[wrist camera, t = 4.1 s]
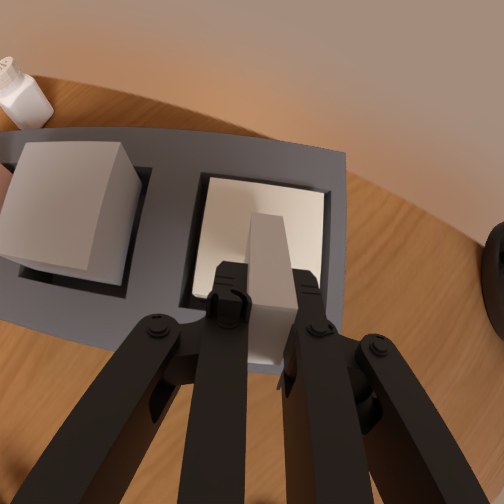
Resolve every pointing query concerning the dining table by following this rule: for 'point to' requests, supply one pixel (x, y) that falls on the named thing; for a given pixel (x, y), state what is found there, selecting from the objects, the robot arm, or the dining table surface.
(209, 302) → the robot arm
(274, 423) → the dining table surface
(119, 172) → the key grey
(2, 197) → the key terracotta
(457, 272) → the dining table surface
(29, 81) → the salt shaker
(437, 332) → the dining table surface
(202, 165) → the three-slot sorting tray
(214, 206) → the key cream
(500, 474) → the dining table surface
